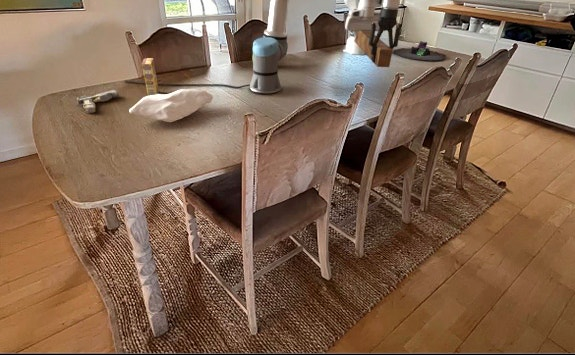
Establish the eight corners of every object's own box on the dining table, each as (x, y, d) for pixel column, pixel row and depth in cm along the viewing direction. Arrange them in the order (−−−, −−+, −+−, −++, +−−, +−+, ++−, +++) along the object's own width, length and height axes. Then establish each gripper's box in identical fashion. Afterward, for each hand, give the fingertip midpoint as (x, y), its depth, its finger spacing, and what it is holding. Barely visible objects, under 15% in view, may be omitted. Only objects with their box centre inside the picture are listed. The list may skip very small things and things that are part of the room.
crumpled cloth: (117, 110, 146) (113, 90, 140) (195, 92, 166) (194, 73, 160) (143, 139, 134) (140, 118, 128) (223, 116, 154) (224, 96, 148)
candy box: (157, 97, 164) (152, 63, 155) (147, 98, 163) (141, 63, 155) (158, 91, 171) (153, 57, 163) (149, 91, 170) (143, 58, 162)
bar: (389, 67, 166) (392, 49, 162) (377, 66, 166) (380, 49, 161) (363, 41, 208) (365, 27, 204) (354, 41, 208) (356, 26, 204)
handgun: (128, 97, 156) (111, 87, 164) (86, 107, 144) (70, 97, 152) (129, 103, 157) (113, 94, 165) (88, 114, 146) (72, 103, 154)
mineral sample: (456, 57, 245) (459, 42, 241) (423, 63, 228) (426, 48, 224) (414, 49, 270) (416, 36, 266) (381, 54, 253) (383, 40, 248)
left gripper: (407, 7, 162) (396, 60, 175) (366, 5, 161) (358, 58, 173) (413, 10, 156) (401, 64, 168) (371, 8, 154) (362, 63, 167)
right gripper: (383, 11, 197) (378, 38, 205) (346, 10, 196) (343, 37, 203) (386, 13, 192) (381, 40, 200) (348, 12, 191) (345, 40, 198)
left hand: (379, 61), depth 171 cm, fingers closed on bar, 6 cm apart
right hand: (362, 39), depth 202 cm, fingers closed on bar, 5 cm apart
